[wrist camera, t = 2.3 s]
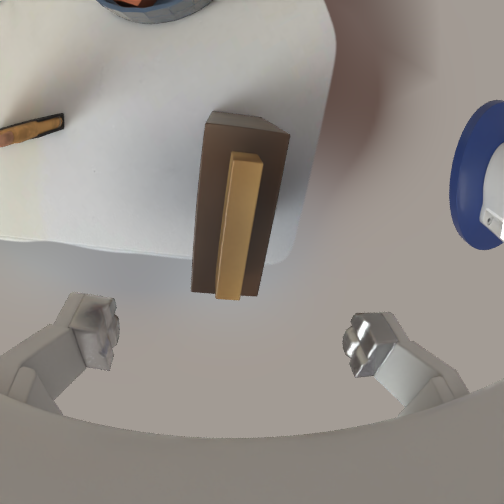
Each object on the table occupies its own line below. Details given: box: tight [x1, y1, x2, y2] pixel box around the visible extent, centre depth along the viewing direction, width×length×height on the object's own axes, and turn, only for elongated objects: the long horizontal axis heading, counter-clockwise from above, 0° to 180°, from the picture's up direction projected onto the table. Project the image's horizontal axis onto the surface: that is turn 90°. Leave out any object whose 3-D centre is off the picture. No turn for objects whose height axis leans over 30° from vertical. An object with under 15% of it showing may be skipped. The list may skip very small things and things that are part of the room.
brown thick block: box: [191, 111, 290, 296], centre depth 24 cm, size 5×12×13 cm, turn 171°
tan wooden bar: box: [215, 151, 263, 300], centre depth 18 cm, size 2×9×2 cm, turn 171°
